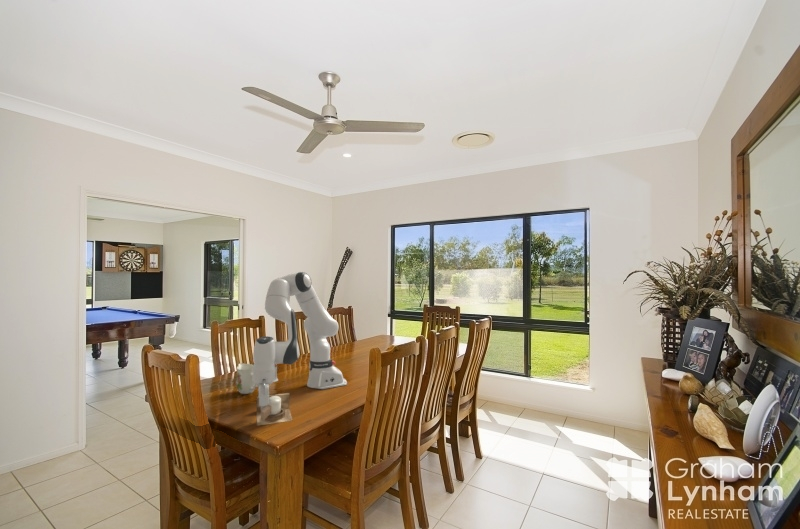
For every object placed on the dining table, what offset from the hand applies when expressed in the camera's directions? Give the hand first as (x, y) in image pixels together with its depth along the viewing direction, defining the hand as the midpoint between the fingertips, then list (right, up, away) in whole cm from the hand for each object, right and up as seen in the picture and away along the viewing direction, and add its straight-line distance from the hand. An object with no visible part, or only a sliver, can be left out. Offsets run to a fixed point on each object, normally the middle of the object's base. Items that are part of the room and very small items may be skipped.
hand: (262, 409), depth 149 cm
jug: (+2, -4, +3) cm, 6 cm away
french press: (-19, -8, +59) cm, 63 cm away
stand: (+3, -7, +5) cm, 8 cm away
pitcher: (-23, -7, +39) cm, 46 cm away
